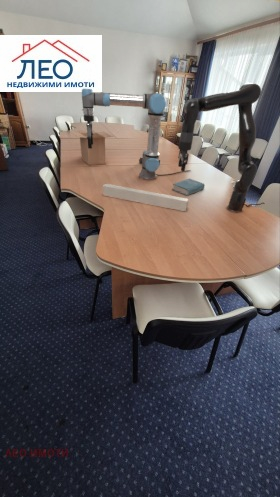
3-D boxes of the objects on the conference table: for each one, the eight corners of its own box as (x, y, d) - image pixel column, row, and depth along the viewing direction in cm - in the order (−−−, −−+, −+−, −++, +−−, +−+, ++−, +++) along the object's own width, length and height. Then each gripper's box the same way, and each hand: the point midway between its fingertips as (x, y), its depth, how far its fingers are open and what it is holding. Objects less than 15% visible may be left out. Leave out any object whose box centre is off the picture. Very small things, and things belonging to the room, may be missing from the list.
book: (188, 184, 197) (189, 178, 194) (203, 189, 189) (204, 183, 186) (172, 189, 184) (173, 183, 181) (188, 196, 175) (189, 190, 172)
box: (116, 165, 229) (116, 136, 213) (83, 168, 214) (80, 137, 198) (102, 154, 259) (101, 128, 243) (71, 156, 244) (68, 129, 228)
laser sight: (158, 167, 234) (159, 157, 228) (138, 164, 237) (138, 154, 231) (159, 164, 242) (160, 154, 236) (139, 162, 245) (140, 152, 239)
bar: (103, 195, 167) (102, 185, 163) (105, 192, 171) (105, 183, 166) (185, 211, 153) (187, 201, 149) (186, 208, 157) (188, 198, 153)
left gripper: (85, 112, 170) (87, 142, 182) (81, 116, 150) (84, 149, 162) (94, 113, 171) (96, 143, 183) (92, 117, 151) (94, 150, 163)
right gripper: (195, 143, 124) (189, 172, 134) (189, 138, 135) (184, 165, 145) (182, 142, 123) (177, 172, 133) (177, 137, 135) (173, 165, 144)
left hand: (90, 146), depth 173 cm, fingers open, 13 cm apart
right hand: (181, 168), depth 139 cm, fingers open, 8 cm apart
